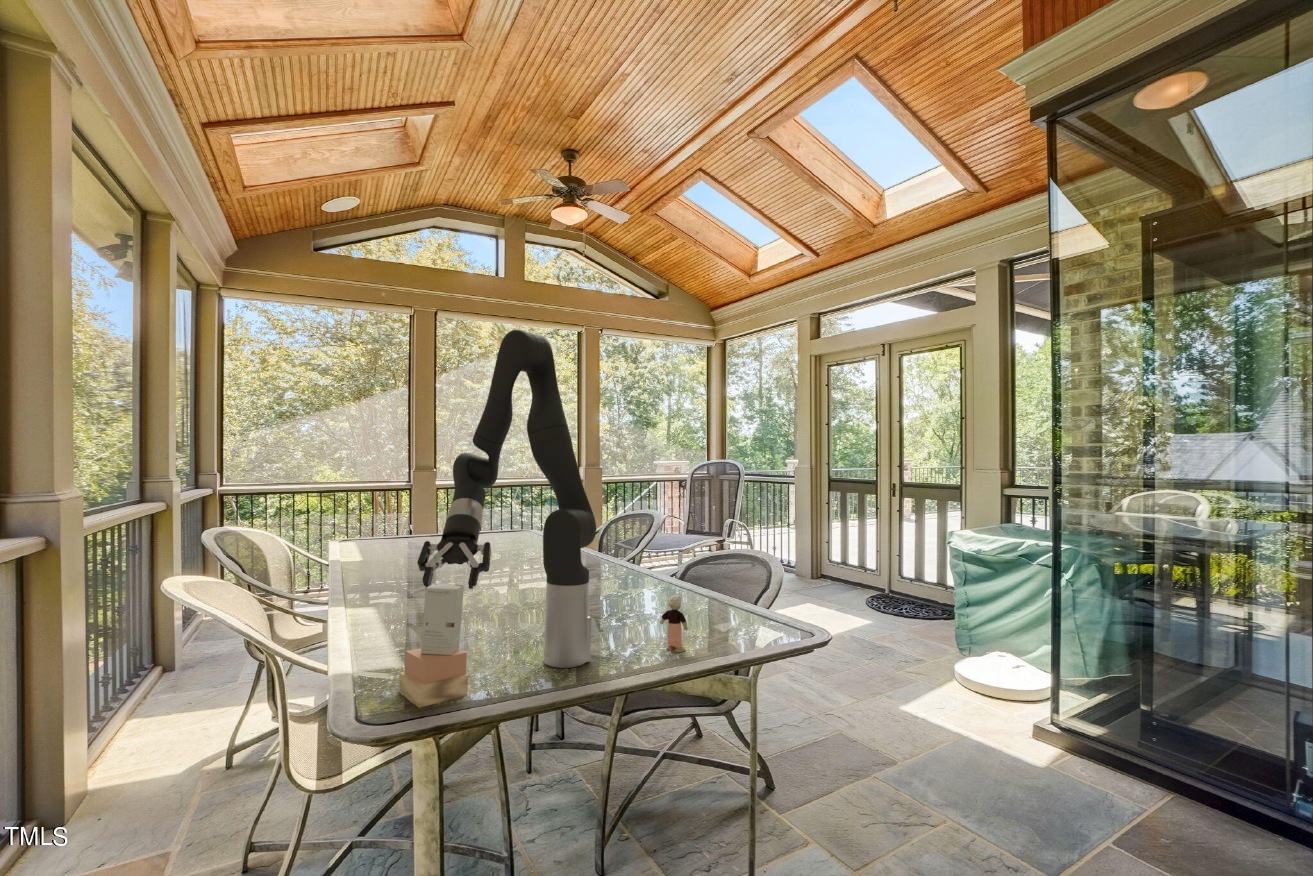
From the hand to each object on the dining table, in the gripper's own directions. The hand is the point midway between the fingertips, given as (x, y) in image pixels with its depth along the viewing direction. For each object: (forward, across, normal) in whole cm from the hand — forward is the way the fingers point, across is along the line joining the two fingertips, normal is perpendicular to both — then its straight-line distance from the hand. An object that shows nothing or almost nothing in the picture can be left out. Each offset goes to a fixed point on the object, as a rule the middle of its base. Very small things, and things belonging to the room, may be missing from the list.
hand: (448, 586), depth 123 cm
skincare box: (+14, +1, +1) cm, 14 cm away
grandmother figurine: (+1, +48, +24) cm, 54 cm away
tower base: (+20, 0, +6) cm, 21 cm away
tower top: (+17, 0, +3) cm, 17 cm away
